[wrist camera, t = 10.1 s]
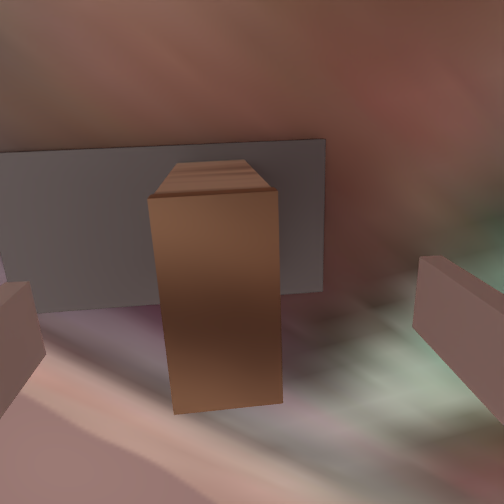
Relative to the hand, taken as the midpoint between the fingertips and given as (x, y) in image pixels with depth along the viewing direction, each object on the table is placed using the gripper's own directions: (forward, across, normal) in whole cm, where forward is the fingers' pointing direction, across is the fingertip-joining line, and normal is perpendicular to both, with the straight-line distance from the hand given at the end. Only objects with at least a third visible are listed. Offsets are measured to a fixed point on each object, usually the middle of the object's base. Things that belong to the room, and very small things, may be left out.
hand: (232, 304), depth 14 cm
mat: (+13, -4, 0) cm, 13 cm away
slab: (+12, -1, 0) cm, 12 cm away
